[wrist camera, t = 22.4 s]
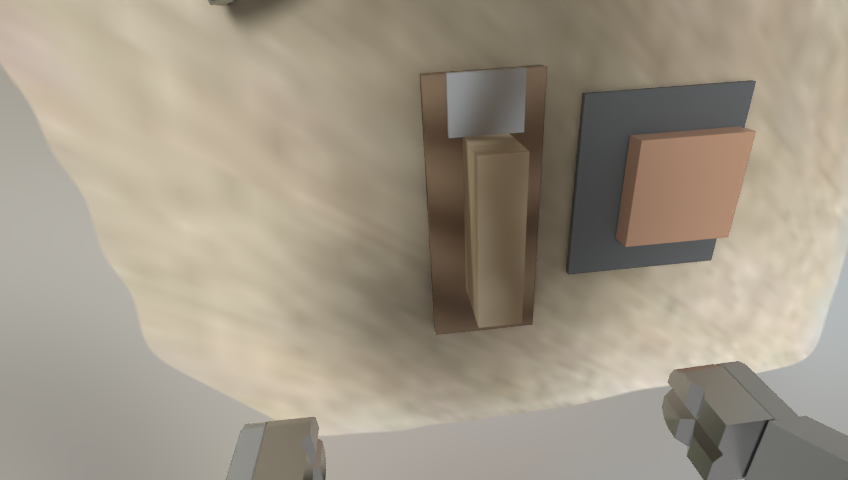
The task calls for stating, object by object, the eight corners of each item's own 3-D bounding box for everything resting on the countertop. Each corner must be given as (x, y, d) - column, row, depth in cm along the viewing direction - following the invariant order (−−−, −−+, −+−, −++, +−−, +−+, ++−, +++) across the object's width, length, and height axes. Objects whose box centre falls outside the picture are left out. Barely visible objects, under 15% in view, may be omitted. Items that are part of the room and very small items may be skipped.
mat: (582, 93, 31) (585, 94, 31) (751, 80, 32) (755, 81, 31) (566, 271, 37) (568, 274, 37) (708, 257, 38) (711, 260, 38)
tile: (641, 140, 31) (755, 131, 31) (629, 134, 32) (737, 125, 33) (625, 246, 34) (728, 237, 35) (614, 236, 36) (712, 227, 36)
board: (419, 73, 30) (421, 75, 29) (541, 65, 30) (547, 66, 29) (434, 325, 38) (436, 334, 37) (528, 315, 39) (532, 324, 38)
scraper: (453, 290, 36) (464, 329, 31) (445, 72, 29) (458, 83, 24) (516, 283, 36) (536, 321, 31) (524, 66, 29) (551, 76, 24)
